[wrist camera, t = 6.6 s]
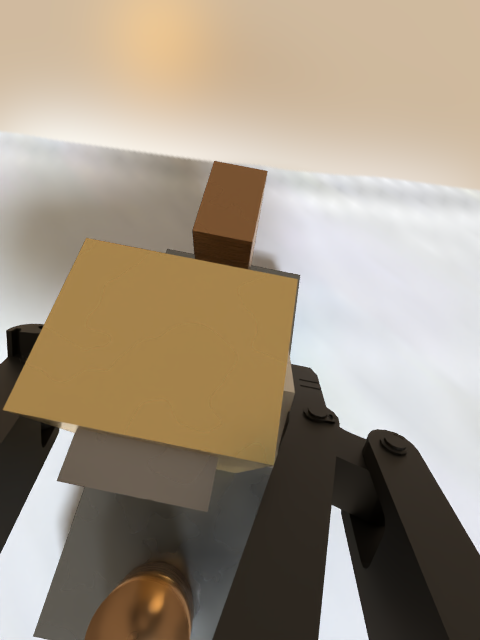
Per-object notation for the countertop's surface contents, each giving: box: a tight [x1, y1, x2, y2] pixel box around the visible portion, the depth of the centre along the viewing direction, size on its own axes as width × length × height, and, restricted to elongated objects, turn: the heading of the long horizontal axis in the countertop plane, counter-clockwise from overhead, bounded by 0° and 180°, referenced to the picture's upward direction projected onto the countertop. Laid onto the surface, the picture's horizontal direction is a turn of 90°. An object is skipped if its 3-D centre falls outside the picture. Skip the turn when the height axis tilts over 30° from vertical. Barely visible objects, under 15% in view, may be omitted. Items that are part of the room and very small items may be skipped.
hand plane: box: [33, 161, 300, 640], centre depth 16 cm, size 9×20×12 cm, turn 169°
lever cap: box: [3, 238, 298, 512], centre depth 12 cm, size 5×5×12 cm
